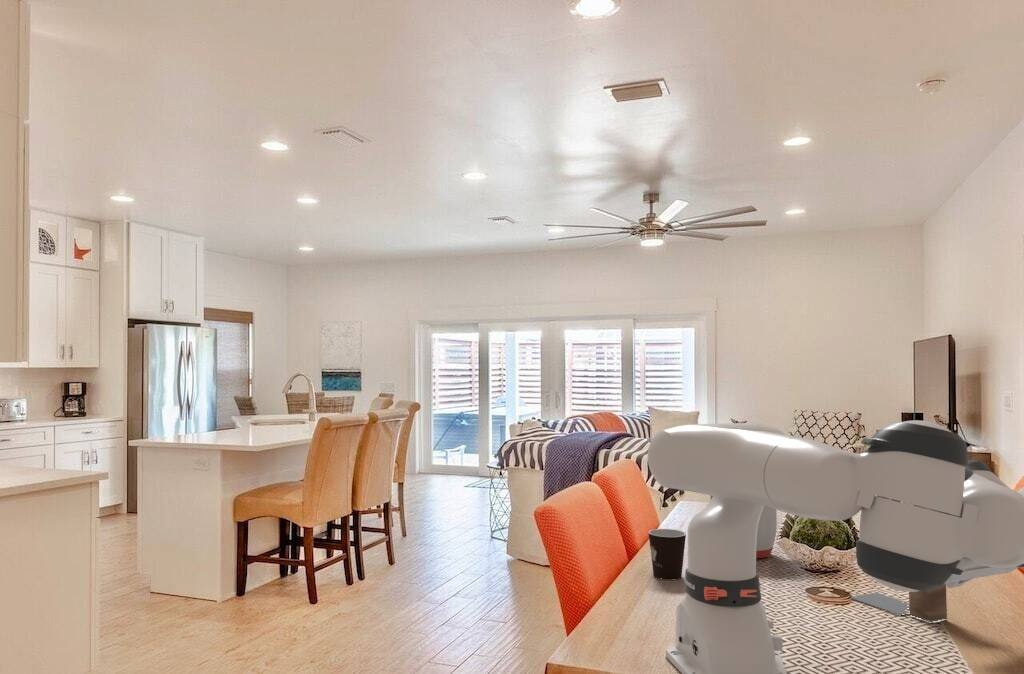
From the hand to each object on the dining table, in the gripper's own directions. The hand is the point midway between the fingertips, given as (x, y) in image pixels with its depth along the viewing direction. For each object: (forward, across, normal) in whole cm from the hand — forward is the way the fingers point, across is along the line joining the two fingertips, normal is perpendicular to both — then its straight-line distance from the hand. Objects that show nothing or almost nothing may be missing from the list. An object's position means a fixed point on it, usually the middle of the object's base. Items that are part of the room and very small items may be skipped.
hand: (950, 583), depth 137 cm
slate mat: (+15, 0, +4) cm, 16 cm away
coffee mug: (+41, -29, +30) cm, 58 cm away
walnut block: (+9, 0, -2) cm, 9 cm away
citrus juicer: (+46, +2, +35) cm, 58 cm away
